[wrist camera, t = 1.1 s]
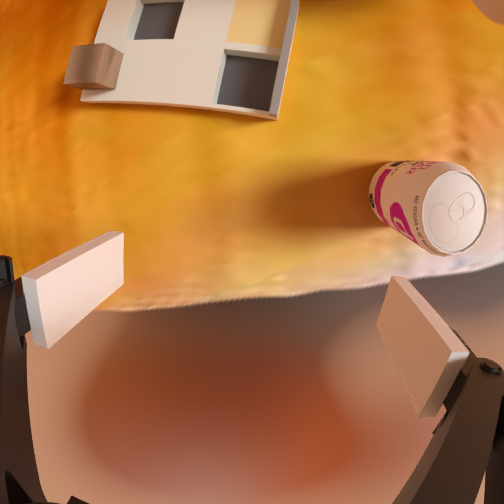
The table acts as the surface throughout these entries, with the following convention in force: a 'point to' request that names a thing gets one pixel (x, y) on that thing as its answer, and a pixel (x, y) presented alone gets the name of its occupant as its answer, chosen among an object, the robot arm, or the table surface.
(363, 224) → the table surface
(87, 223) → the table surface
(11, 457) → the robot arm
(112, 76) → the block
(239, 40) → the box
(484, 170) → the table surface
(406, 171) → the soda can
